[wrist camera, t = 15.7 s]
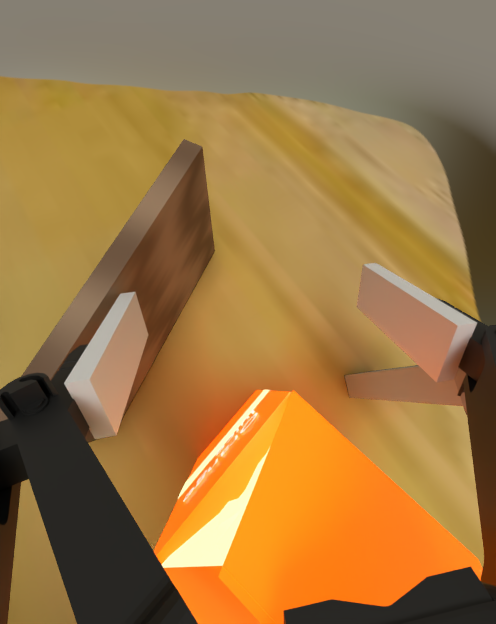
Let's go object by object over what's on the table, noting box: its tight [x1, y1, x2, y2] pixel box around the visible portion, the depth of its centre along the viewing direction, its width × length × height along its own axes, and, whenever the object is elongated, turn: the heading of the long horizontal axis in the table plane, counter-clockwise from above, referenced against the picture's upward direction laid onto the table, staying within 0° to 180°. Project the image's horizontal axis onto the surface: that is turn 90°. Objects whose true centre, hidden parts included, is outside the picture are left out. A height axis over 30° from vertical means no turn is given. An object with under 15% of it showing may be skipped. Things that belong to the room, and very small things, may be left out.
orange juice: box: [154, 390, 483, 624], centre depth 13 cm, size 8×9×20 cm
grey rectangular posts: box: [344, 365, 467, 415], centre depth 17 cm, size 30×3×14 cm, turn 99°
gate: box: [0, 139, 215, 443], centre depth 19 cm, size 19×2×12 cm, turn 156°
